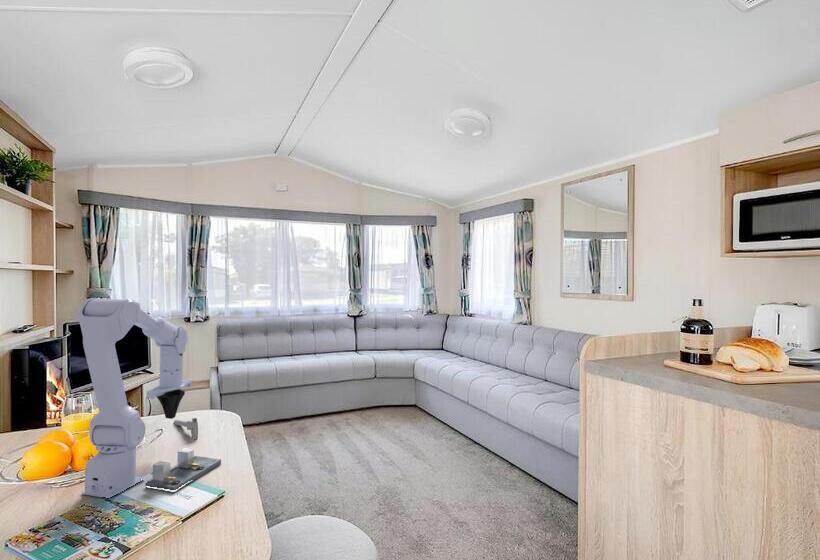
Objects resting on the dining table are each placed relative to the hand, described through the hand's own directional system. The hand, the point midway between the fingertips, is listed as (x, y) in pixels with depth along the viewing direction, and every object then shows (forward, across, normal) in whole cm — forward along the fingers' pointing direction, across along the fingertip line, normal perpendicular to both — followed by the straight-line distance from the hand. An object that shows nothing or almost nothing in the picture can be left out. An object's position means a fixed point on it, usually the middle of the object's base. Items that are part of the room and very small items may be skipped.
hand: (170, 417), depth 122 cm
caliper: (+10, +15, +8) cm, 20 cm away
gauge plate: (+9, -11, -15) cm, 21 cm away
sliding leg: (+8, -9, -15) cm, 19 cm away
